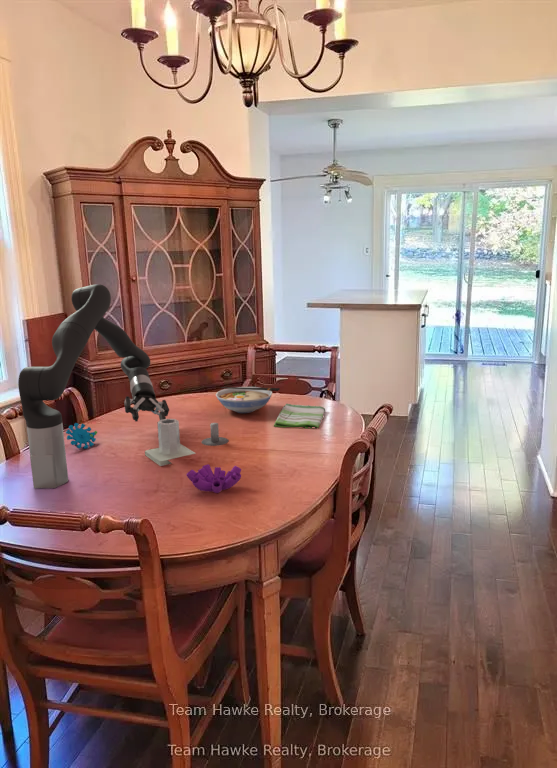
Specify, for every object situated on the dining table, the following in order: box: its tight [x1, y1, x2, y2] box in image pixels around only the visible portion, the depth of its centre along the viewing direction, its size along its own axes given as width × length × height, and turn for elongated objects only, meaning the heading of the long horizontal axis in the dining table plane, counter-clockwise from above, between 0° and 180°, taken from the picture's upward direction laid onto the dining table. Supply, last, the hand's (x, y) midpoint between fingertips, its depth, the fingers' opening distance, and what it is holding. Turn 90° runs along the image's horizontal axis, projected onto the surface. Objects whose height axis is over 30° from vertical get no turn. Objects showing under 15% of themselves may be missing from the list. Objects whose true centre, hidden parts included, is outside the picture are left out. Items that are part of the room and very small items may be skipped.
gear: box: [65, 422, 98, 450], centre depth 195 cm, size 11×6×10 cm
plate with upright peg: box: [144, 443, 197, 467], centre depth 183 cm, size 12×12×8 cm
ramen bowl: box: [215, 386, 280, 414], centre depth 233 cm, size 25×23×8 cm
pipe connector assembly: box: [185, 464, 242, 494], centre depth 156 cm, size 11×15×10 cm
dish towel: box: [273, 403, 326, 429], centre depth 221 cm, size 17×23×4 cm
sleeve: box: [157, 418, 181, 455], centre depth 182 cm, size 6×6×10 cm
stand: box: [200, 422, 229, 447], centre depth 192 cm, size 9×9×8 cm
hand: (150, 420), depth 188 cm, fingers open, 8 cm apart
